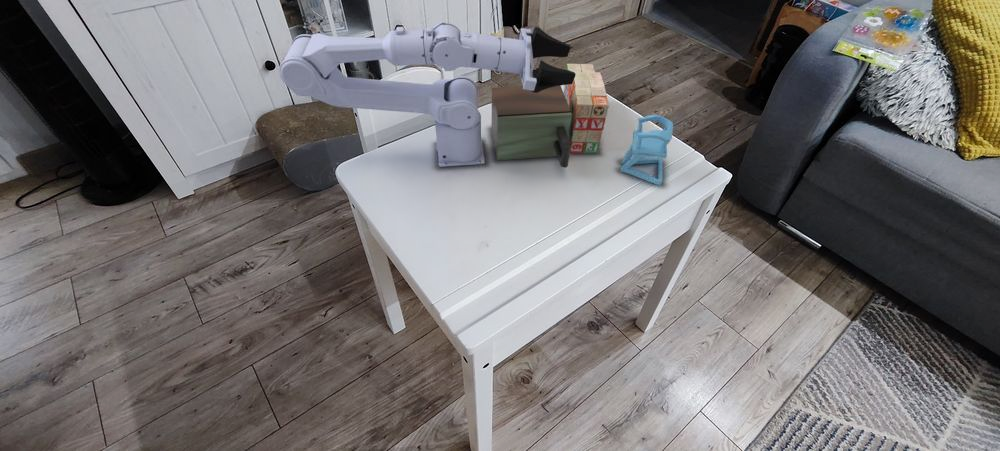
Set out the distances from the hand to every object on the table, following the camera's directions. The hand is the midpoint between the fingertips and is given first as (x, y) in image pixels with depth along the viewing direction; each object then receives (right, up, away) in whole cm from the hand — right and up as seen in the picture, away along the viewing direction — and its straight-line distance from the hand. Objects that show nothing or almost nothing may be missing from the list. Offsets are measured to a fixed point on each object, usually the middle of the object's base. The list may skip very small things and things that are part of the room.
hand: (571, 64), depth 83 cm
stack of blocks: (+5, -6, +22) cm, 23 cm away
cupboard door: (-6, -17, +11) cm, 21 cm away
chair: (+16, -18, +12) cm, 27 cm away
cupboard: (-7, -11, +17) cm, 22 cm away
